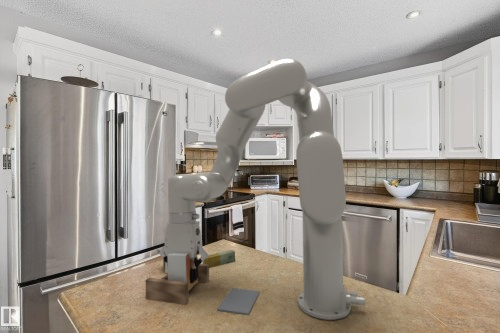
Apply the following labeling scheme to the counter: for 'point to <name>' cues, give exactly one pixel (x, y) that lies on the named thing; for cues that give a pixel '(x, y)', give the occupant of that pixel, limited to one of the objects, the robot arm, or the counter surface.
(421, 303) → the counter surface
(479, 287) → the counter surface
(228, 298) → the mat
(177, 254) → the small box
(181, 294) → the nook
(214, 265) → the medication box
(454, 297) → the counter surface
